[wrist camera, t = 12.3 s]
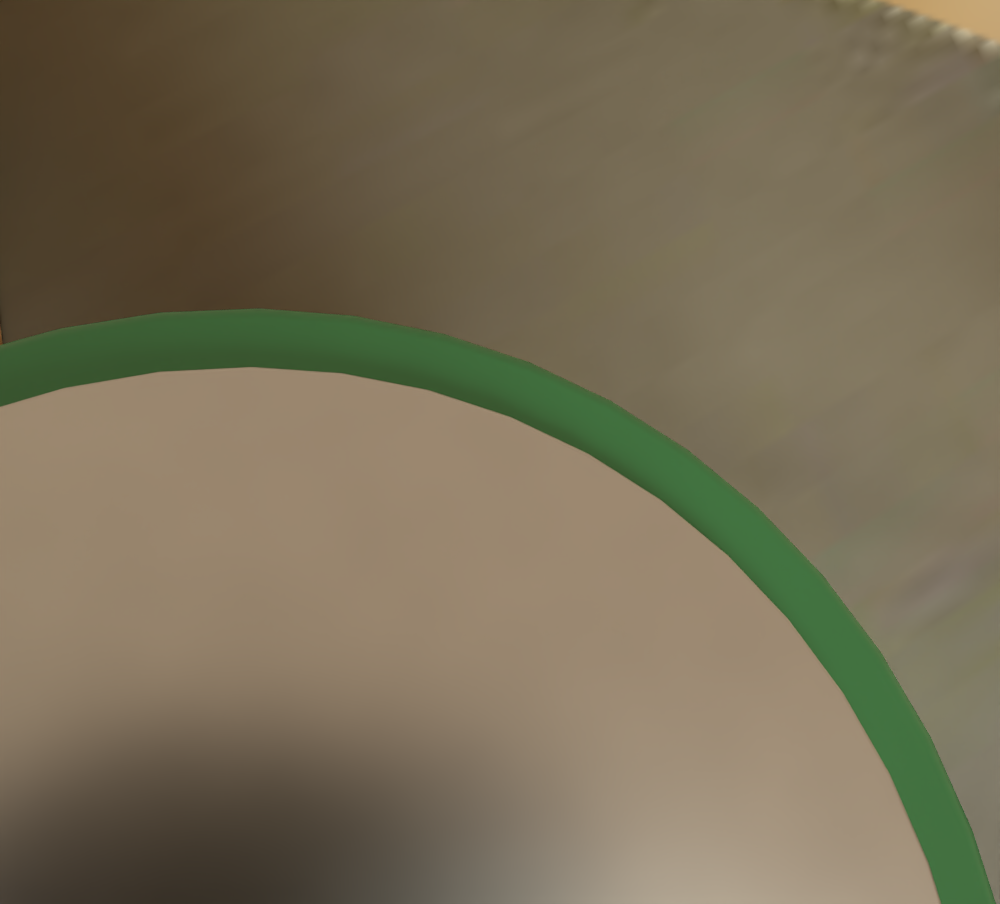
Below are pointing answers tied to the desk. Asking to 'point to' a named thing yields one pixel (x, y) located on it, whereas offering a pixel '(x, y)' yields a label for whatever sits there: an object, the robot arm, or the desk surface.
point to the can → (419, 642)
